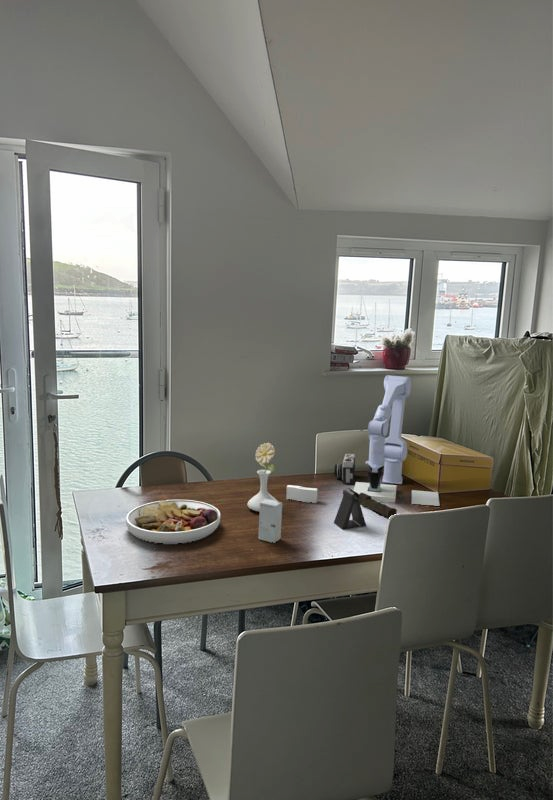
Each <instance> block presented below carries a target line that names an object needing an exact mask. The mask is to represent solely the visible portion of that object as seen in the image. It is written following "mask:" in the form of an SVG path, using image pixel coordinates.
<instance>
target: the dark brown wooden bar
mask: <svg viewBox="0 0 553 800" xmlns="http://www.w3.org/2000/svg"><path fill="white" fill-rule="evenodd" d="M359 496H360V498H359V503H360V506H361V505H362V506H361V507H363V508H365V507H368V509H370V510H372V511H375V512H377V513H379V514H380V515H383V516H384V517H386V518H387V519H388V518H389V517H390V516H391V515H394V514H396V515H397V514H398V510H397V509H396V508H395V507H390V506H388V505H387V504H384V503H382V502H377V501H375V500H373V499H371V496H369V495H367V494H365V493H360V494H359Z"/></svg>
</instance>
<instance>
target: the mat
mask: <svg viewBox="0 0 553 800" xmlns="http://www.w3.org/2000/svg"><path fill="white" fill-rule="evenodd" d="M412 504H421V505H434V506H440V496H439V492H438V491H426V490H425V491H424V490H417V489H415V490H414V489H412V490H411V505H412Z"/></svg>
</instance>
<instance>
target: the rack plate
mask: <svg viewBox="0 0 553 800" xmlns="http://www.w3.org/2000/svg"><path fill="white" fill-rule="evenodd" d="M369 486H370V482H364V481H362V482H361V481H360V482H359V481H355V484H354V486H353V489H352V490H353V491H355V492H356V493H358V494H360V493H365V494H367V495H369V496H371V499H373V500H375V501H379V503H386V502H395V503H396V497H397V495H396V494H397V486H398V484H397V485H395V484H387V483H381V486H380V492H370V491H369Z"/></svg>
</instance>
